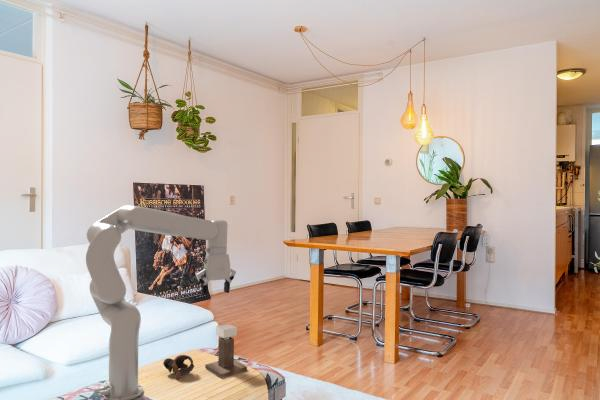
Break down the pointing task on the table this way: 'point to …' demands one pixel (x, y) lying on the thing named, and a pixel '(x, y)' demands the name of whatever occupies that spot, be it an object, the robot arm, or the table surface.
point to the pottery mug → (179, 365)
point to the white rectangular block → (226, 331)
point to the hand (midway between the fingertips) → (215, 293)
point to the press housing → (226, 360)
